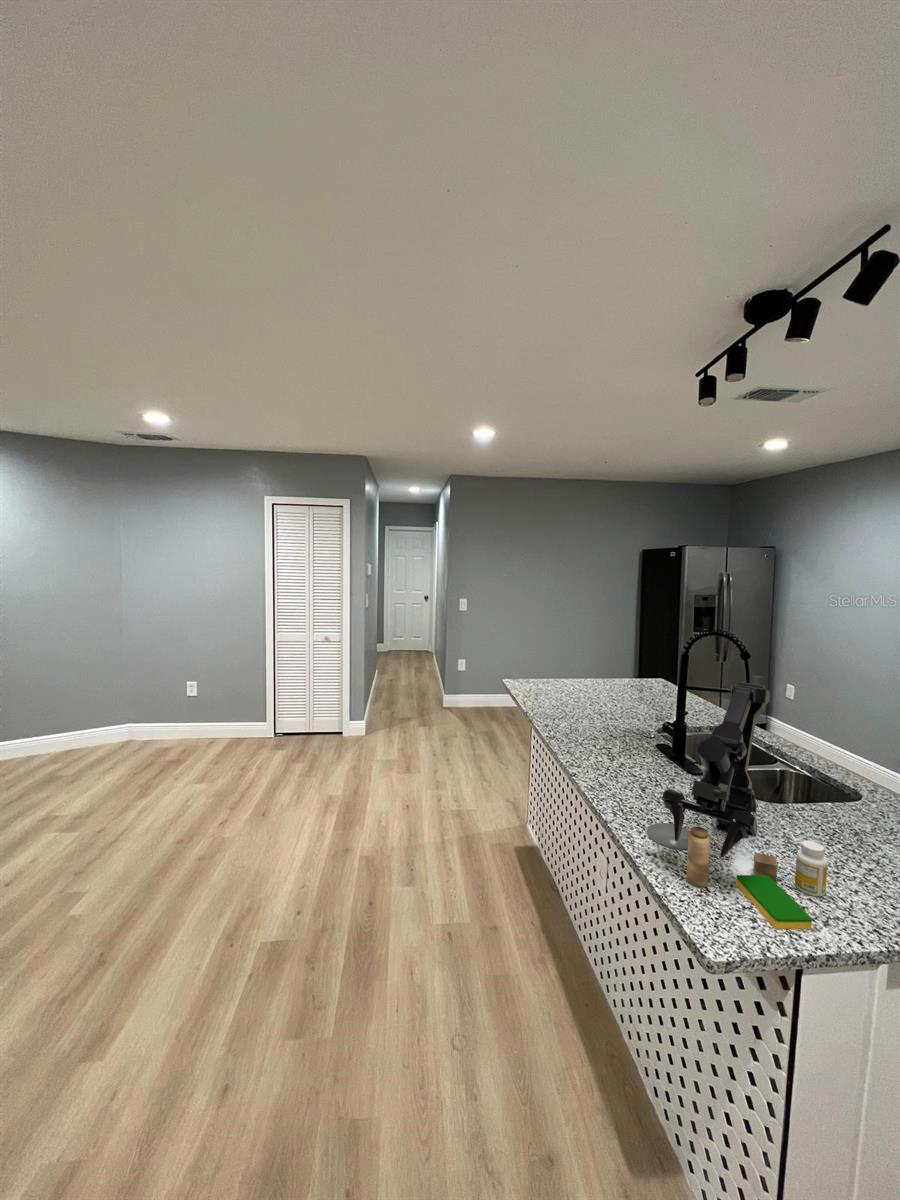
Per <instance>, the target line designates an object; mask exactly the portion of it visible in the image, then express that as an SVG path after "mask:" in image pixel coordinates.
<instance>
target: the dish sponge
mask: <svg viewBox="0 0 900 1200" xmlns="http://www.w3.org/2000/svg"><path fill="white" fill-rule="evenodd" d="M735 878H736V879H735V885H736V887H737V888H738V889H739V890H740V891H741V892H742V893H743V895H745V897H746V898H747V899H748V900H749V901H750V902H751V903H752V905H754V907H755V908H756V909H757V910H758V911H759V912H760V914H762V915H763V917H764V918H765V919H766V920H767V921H768V922H769V923H770V924H771V926H774V927H775V928H774V929H776V930H812V927H813V918H812V917H811V916H810V915H809V914H808V913H807V911H805V910H804V909H803V908H802V907H801V906H800V905H799V904H798V903H797V902H796V901H795V900H794V899H792V897H791V896H790V895H789V894H788V893H787V892H786V891H784V889H783V888H782V887H781V886H780V885H778V883H777V882H776V883H775V882H774V881H773V880H772V879H771V878H770V877H769V876H767V875H754V874H748V875H745V874H744V875H742V874H736V877H735Z"/></svg>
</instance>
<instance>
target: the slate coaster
mask: <svg viewBox="0 0 900 1200" xmlns="http://www.w3.org/2000/svg"><path fill="white" fill-rule="evenodd" d="M689 831H691V830H690V829H688V828H686V827H683V826H682V830H681V834H680V837H679V840H678V842H677V841H676V840H675V831H674V823H666V822H659V823H656V822H655V823H653V824H650V825H649V826H648V827H647V829H646V834H647V836H648V838H649V839H650V840H652V841H653V842H654V843H656V844H657V845H660V846H663V847H664V848H668V849H673V850H678V851H679V850H681V851H686V850H687V851H688V837H689Z"/></svg>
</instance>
